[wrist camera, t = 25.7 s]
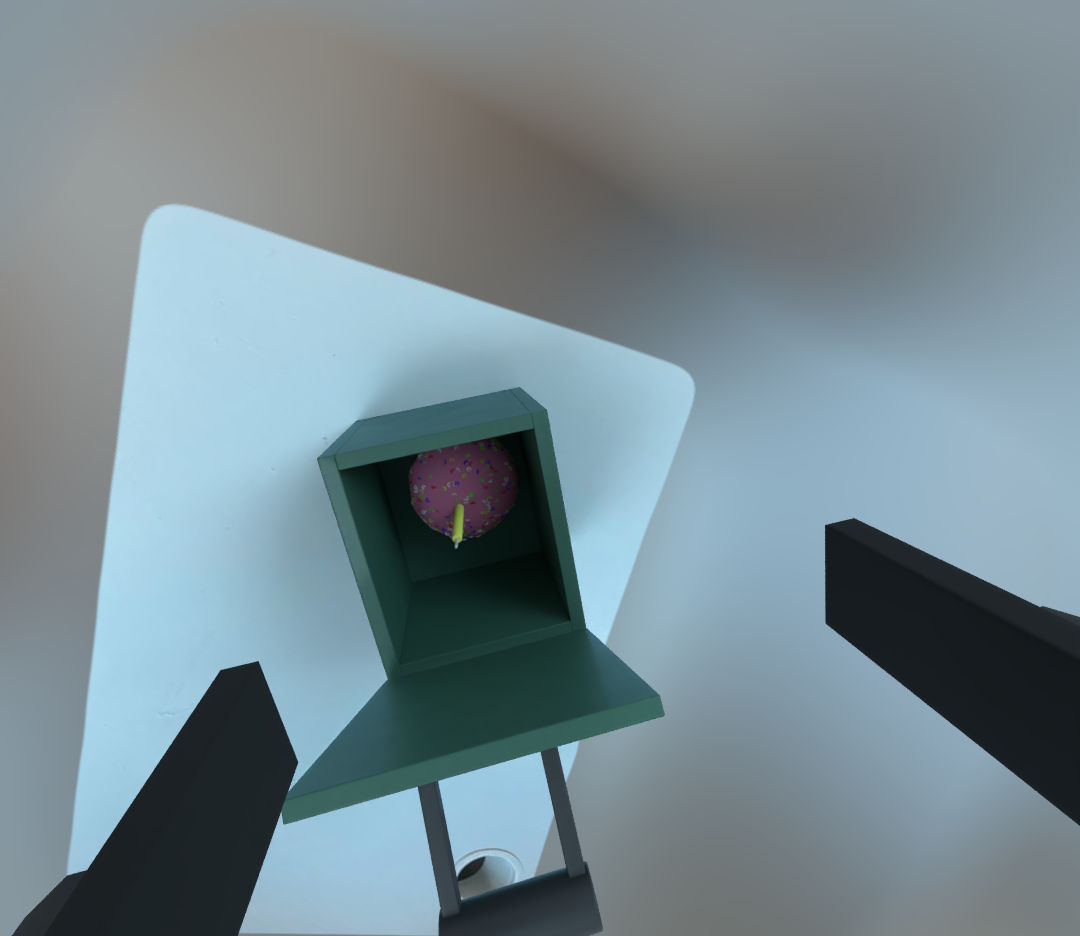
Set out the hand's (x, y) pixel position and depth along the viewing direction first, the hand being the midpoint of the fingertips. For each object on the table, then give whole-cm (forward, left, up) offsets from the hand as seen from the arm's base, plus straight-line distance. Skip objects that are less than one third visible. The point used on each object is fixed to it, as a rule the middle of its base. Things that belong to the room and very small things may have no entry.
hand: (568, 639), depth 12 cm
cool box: (+7, -3, -34) cm, 35 cm away
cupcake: (+4, -3, -33) cm, 34 cm away
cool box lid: (+11, -3, -13) cm, 17 cm away
